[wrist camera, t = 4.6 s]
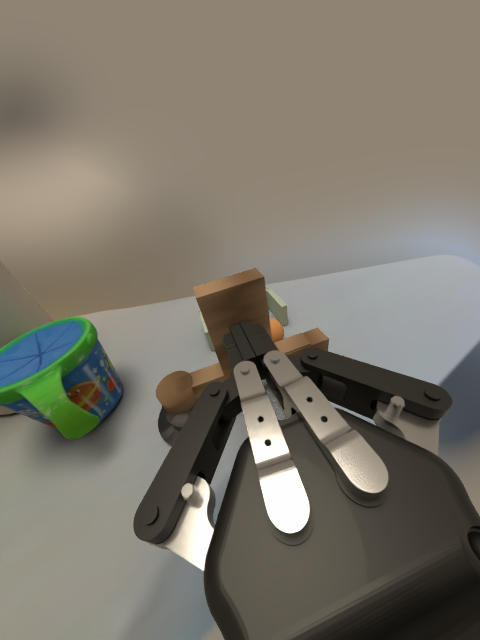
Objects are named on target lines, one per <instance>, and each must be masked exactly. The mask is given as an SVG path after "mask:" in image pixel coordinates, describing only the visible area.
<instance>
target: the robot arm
mask: <svg viewBox="0 0 480 640" xmlns="http://www.w3.org/2000/svg"><path fill="white" fill-rule="evenodd" d="M229 329H230V333H228V334H225V335H224V338H223V342H224V346H225V349H226V352H227V355H228V358H229V361H230V363H231V366H232V369H233V370H232V374H231V375H230V377H229V378H228V379H227V380H225V381H224V382H219V381H215V382H211V383H210V384H208V385H207V386H206V387H205V388H204V390H203V392H202V394H201V395H200V397H199V399H198V401H197V403H196V404H195V406H194V408H193V410H192V412H191V413H190V415H189V417H188V419H187V421H186V422H185V424H184V426H183V428H182V430H181V431H180V433H179V435H178V437H177V439H176V440H175V442H174V444H173V446H172V448H171V449H170V451H169V453H168V455H167V457H166V458H165V460H164V462H163V464H162V466H161V467H160V469H159V471H158V473H157V475H156V476H155V478H154V480H153V482H152V484H151V485H150V487H149V489H148V491H147V493H146V494H145V496H144V498H143V500H142V502H141V503H140V505H139V507H138V509H137V511H136V514H135V517H134V532H135V534H136V536H137V537H138V538H139V539H140V540H143V541H146V542H147V543H149V544H150V545H153V546H156V547H159V548H162V549H169V550H172V551H173V552H175V553H177V554H178V555H180V556H181V557H183V558H185V559H186V560H188V561H189V562H191V563H192V564H194V565H196V566H197V567H199V568H200V569H202V570H204V589H205V595H206V600H207V603H208V607H209V609H210V612H211V614H212V616H213V618H214V620H215V621H216V623H217V625H218V627H219V629H220V631H221V633H222V635H223V637H224V639H225V640H480V516H479V514H478V513H477V511H476V509H475V508H474V506H473V504H472V503H471V500H470V498H469V496H468V494H467V492H466V489H465V487H464V485H463V484H462V482H461V480H460V478H459V477H458V476H457V474H456V473H455V472H454V471H453V470H452V468H450V466H449V465H448V464H447V463H445V462H444V461H443V460H442V459H441V458H440V457H438V442H439V421H440V419H441V418H442V417H443V416H444V414H445V413H446V412H447V411H448V409H449V408H450V406H451V405H452V399H451V397H450V395H449V394H448V393H447V392H446V391H445V390H444V389H443V388H441V387H439V386H437V385H435V384H432V383H429V382H425V381H422V380H419V379H416V378H412V377H409V376H406V375H403V374H399V373H396V372H393V371H390V370H386V369H383V368H380V367H377V366H373V365H370V364H367V363H364V362H360V361H357V360H354V359H351V358H347V357H344V356H341V355H338V354H334V353H331V352H328V351H325V350H321V349H318V348H314V347H309V348H305V349H304V350H302V352H301V354H300V355H286V354H284V353H283V352H281V351H279V350H278V348H277V347H276V345H275V344H274V342H273V341H272V339H271V338H270V336H269V334H268V333H267V332H266V330H265V328H264V327H263V326H262V325H260V324H258V323H257V324H254V325H252V323H251V322H250V320H249V319H247V320H244V321H241V322H239V323H235V324H232V325H229ZM260 378H261V379H260ZM264 379H266V381H267V383H268V388H269V390H270V392H271V394H272V395H273V397H274V399H275V400H276V402H277V404H278V405H279V407H280V409H281V410H282V412H283V414H284V416H285V419H286V420H278V421H277V418H276V415H275V413H274V410H273V407H272V405H271V402H270V399H269V397H268V394H267V393H266V392H265V389H264V387H263V384H262V381H261V380H264ZM329 401H330V402H333V403H335V404H337V405H340V406H342V407H344V408H347V409H349V410H351V411H354V412H356V413H358V414H361V415H363V416H365V417H368V418H370V419H372V420H374V422H375V424H376V425H374V424H371V423H369V422H367V421H365V420H363V419H361V418H359V417H356V416H354V415H352V414H350V413H348V412H346V411H344V410H341V409H338V408H335V407H333V406H332V405H331V403H330V402H329ZM242 411H243V414H244V418H245V422H246V426H247V430H248V434H249V437H248V438H247V439H246V440H245V441H244V442H243V444H242V445H241V447H240V449H239V451H238V453H237V456H236V459H235V463H234V466H233V469H232V472H231V475H230V479H229V482H228V485H227V488H226V492H225V495H224V498H223V501H222V505H221V508H220V511H219V514H218V518H217V521H216V524H215V525H214V520H213V513H214V508H215V503H216V498H215V493H214V491H213V489H212V488H211V487H210V484H211V481H212V478H213V476H214V473H215V471H216V468H217V466H218V463H219V460H220V458H221V455H222V453H223V450H224V448H225V445H226V443H227V440H228V437H229V435H230V432H231V430H232V427H233V425H234V422H235V419H236V416H237V415H238V414H239V413H240V412H242Z"/></svg>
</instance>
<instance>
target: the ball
mask: <svg viewBox="0 0 480 640" xmlns="http://www.w3.org/2000/svg"><path fill="white" fill-rule="evenodd" d="M269 319H270V327H271V335H272V341H273V342H274V343H275V342H278V341H280V340H282V339H283V337H284V330H283V327H282V325H281V324H280V323H279V322H278V321H277V320H275V319H272V318H269Z"/></svg>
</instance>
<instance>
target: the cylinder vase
mask: <svg viewBox="0 0 480 640" xmlns="http://www.w3.org/2000/svg"><path fill="white" fill-rule="evenodd" d="M53 321H54V320H53V319H52V318H51V317H50V315H49V314H48V313H47V312H46V311H45V310H44V309H43V308H42V307H41V306H40V304H39V303H38V302H37V301H36V300H35V299H34V298H33V296H32V295H31V294H30V293H29V292H28V291H27V290H26V289H25V288H24V287H23V285H22V284H21V283H20V282H19V281H18V280H17V279H16V278H15V277H14V275H12V274H11V272H10V271H9V270H8V269H7V268H6V267H5V265H4V264H3V263H2V262H1V261H0V348H2V347H3V346H5V345H6V344H8V343H10V342H11V341H13V340H14V339H16V338H18V337H20V336H21V335H23V334H25V333H27V332H29V331H31V330H33V329H35V328H38V327H40V326H42V325H45V324H47V323H50V322H53ZM12 413H16V412H14V411H12V410H10V409H8V408H6V407H3V406H0V415H6V414H12Z"/></svg>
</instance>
